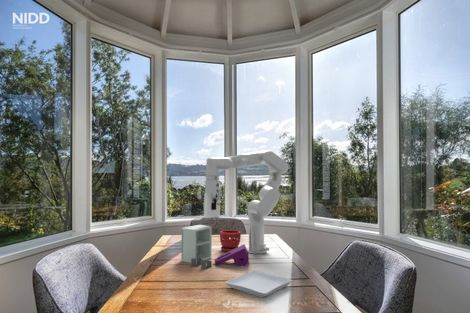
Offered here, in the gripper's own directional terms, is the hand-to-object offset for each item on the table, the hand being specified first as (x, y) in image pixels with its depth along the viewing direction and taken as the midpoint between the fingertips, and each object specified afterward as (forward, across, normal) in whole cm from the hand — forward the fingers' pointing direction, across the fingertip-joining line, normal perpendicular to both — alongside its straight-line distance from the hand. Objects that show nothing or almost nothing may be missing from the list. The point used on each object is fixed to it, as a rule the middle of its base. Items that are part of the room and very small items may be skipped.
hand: (212, 209), depth 186 cm
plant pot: (+27, +3, -17) cm, 32 cm away
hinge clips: (+27, -13, +17) cm, 35 cm away
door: (+4, 0, 0) cm, 4 cm away
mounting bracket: (+28, -20, +1) cm, 34 cm away
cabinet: (+27, 0, +11) cm, 29 cm away
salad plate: (+28, -54, +16) cm, 63 cm away
